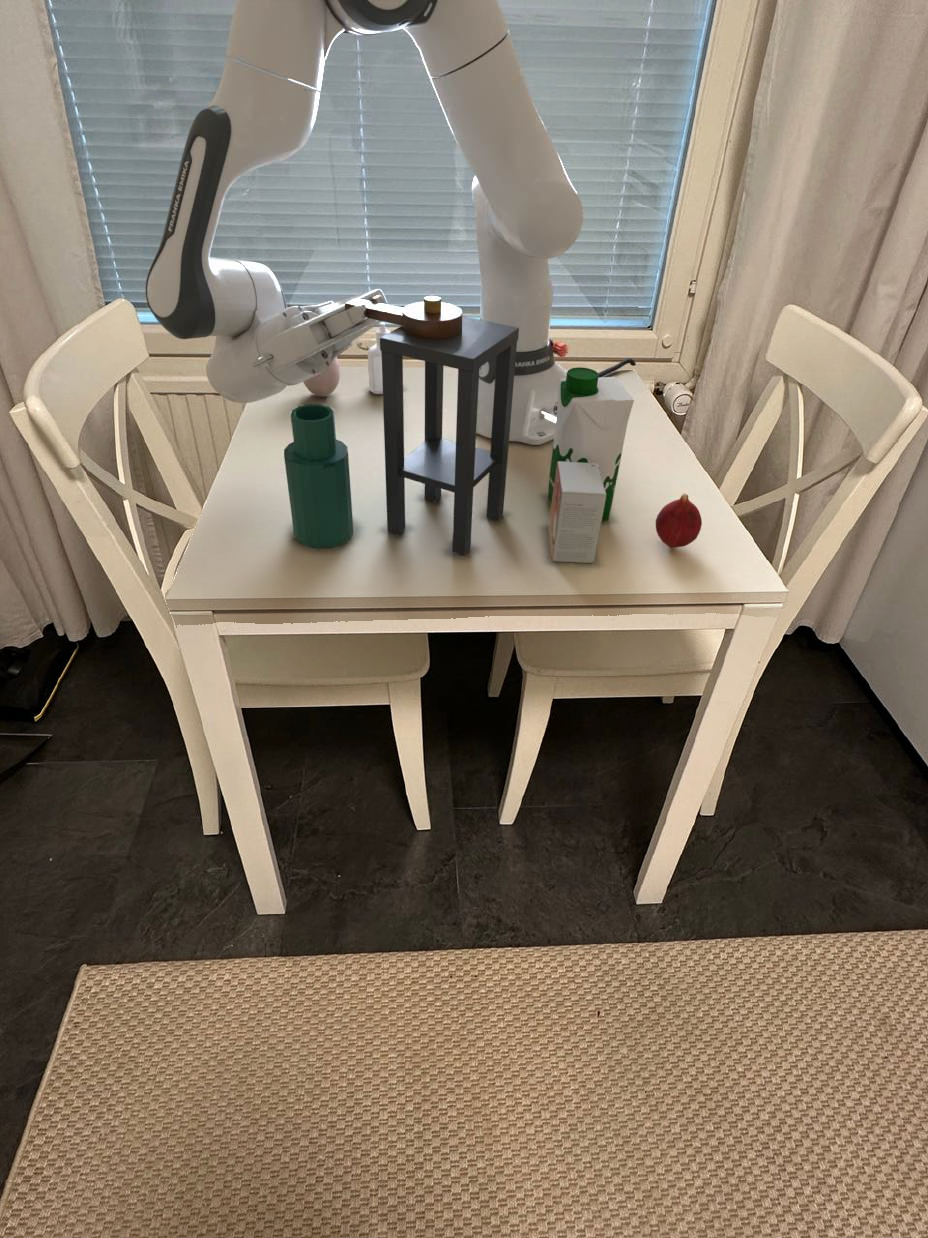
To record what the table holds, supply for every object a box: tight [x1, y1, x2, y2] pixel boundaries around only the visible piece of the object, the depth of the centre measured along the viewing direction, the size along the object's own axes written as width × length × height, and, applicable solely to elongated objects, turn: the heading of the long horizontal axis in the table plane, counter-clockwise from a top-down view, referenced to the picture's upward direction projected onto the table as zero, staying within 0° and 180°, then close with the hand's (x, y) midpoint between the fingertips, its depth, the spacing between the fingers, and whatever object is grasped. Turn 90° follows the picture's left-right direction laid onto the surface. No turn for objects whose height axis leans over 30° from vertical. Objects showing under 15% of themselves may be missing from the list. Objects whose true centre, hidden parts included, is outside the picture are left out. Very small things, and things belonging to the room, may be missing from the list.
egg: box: [302, 356, 341, 398], centre depth 132 cm, size 7×7×10 cm
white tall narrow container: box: [367, 322, 391, 395], centre depth 135 cm, size 4×6×12 cm
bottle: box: [283, 403, 354, 549], centre depth 96 cm, size 8×8×17 cm
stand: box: [380, 315, 519, 557], centre depth 96 cm, size 12×12×26 cm
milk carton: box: [547, 367, 635, 521], centre depth 102 cm, size 9×9×20 cm
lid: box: [345, 295, 464, 339], centre depth 89 cm, size 15×7×3 cm, turn 62°
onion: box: [655, 492, 703, 549], centre depth 99 cm, size 6×6×8 cm
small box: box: [547, 461, 606, 564], centre depth 98 cm, size 8×6×10 cm
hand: (373, 306), depth 91 cm, fingers closed on lid, 2 cm apart
